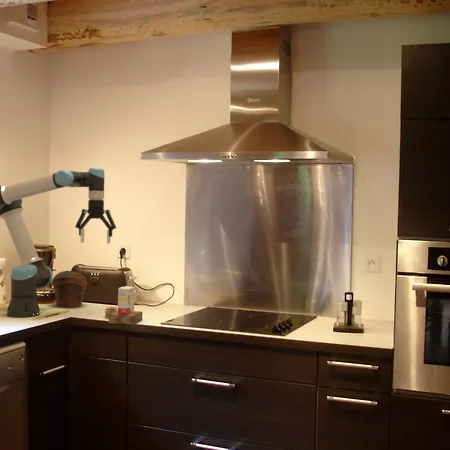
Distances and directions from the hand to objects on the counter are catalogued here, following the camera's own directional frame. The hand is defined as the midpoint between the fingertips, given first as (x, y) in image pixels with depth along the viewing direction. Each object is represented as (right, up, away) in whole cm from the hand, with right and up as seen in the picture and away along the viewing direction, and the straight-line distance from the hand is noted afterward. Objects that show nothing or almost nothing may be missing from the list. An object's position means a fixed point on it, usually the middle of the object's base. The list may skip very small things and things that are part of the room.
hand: (95, 243), depth 307 cm
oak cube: (+9, -35, -10) cm, 38 cm away
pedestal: (+18, -36, -19) cm, 44 cm away
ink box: (+18, -32, -19) cm, 41 cm away
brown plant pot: (-18, -34, +22) cm, 45 cm away
